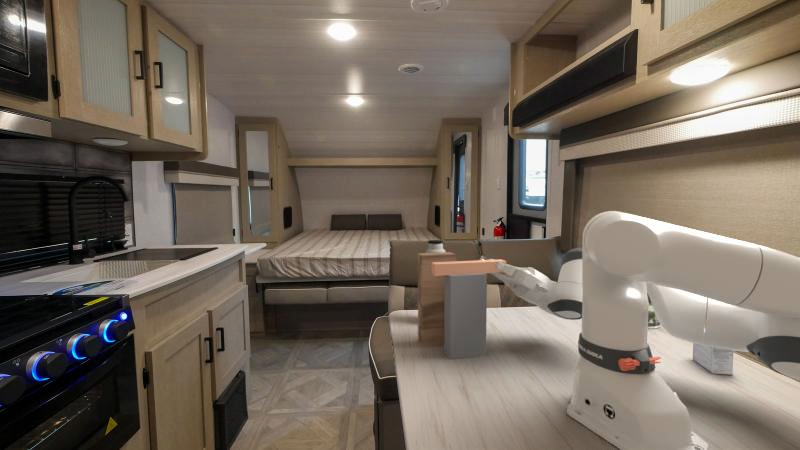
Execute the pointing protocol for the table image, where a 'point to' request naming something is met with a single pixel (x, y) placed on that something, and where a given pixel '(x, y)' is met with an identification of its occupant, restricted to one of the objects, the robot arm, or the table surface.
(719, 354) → the medicine box
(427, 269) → the walnut post
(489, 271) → the rail
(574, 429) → the table surface
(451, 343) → the gray block
